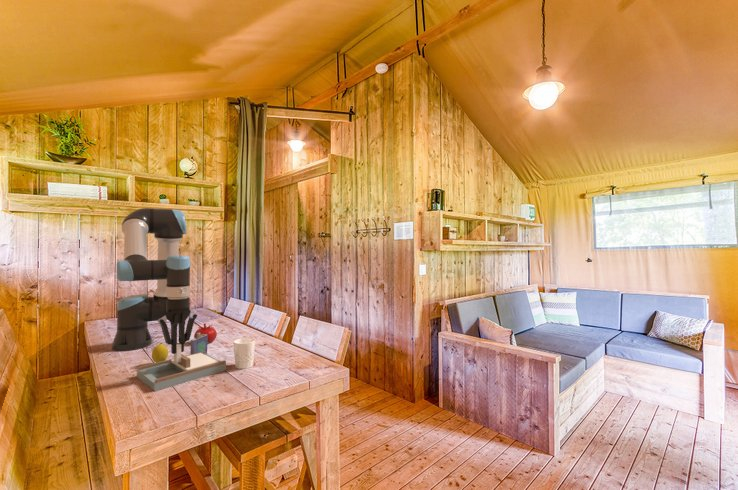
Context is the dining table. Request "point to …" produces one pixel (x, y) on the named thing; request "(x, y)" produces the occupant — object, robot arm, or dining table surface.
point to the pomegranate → (207, 332)
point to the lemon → (159, 353)
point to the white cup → (244, 352)
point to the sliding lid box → (175, 373)
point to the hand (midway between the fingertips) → (177, 361)
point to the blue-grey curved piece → (199, 343)
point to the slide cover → (194, 361)
